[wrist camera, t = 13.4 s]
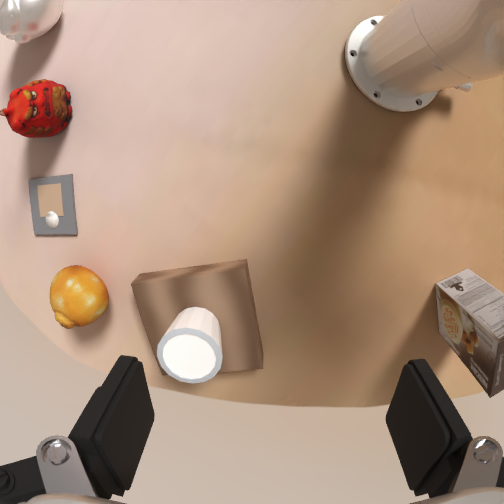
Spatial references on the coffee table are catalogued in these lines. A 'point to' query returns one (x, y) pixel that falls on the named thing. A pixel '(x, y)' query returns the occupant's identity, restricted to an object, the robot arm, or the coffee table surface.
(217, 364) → the shot glass
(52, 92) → the red clay folk toy
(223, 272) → the walnut block
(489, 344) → the coffee box
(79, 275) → the fruit
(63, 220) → the card
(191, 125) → the coffee table surface
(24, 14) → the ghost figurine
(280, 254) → the coffee table surface
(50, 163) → the coffee table surface
